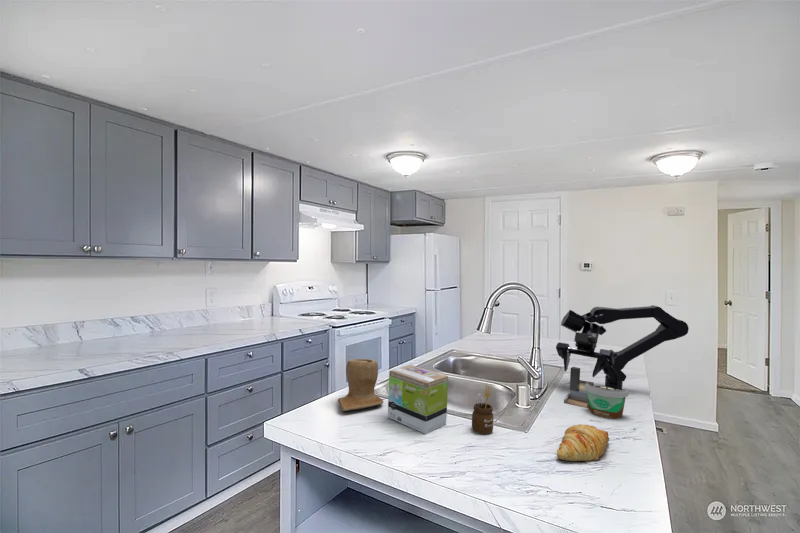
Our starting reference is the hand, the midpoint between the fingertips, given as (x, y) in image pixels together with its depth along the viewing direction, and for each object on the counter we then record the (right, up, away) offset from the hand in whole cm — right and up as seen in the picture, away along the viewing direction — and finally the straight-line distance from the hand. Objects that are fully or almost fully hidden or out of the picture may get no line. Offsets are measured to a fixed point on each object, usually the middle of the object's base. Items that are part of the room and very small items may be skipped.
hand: (578, 373), depth 141 cm
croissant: (-15, -10, -37) cm, 41 cm away
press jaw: (-1, -8, -3) cm, 9 cm away
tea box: (-57, -9, -22) cm, 62 cm away
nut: (+2, -8, +1) cm, 9 cm away
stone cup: (-76, -8, -11) cm, 77 cm away
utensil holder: (-39, -9, -26) cm, 48 cm away
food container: (+1, -10, -16) cm, 19 cm away
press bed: (0, -10, -1) cm, 10 cm away
